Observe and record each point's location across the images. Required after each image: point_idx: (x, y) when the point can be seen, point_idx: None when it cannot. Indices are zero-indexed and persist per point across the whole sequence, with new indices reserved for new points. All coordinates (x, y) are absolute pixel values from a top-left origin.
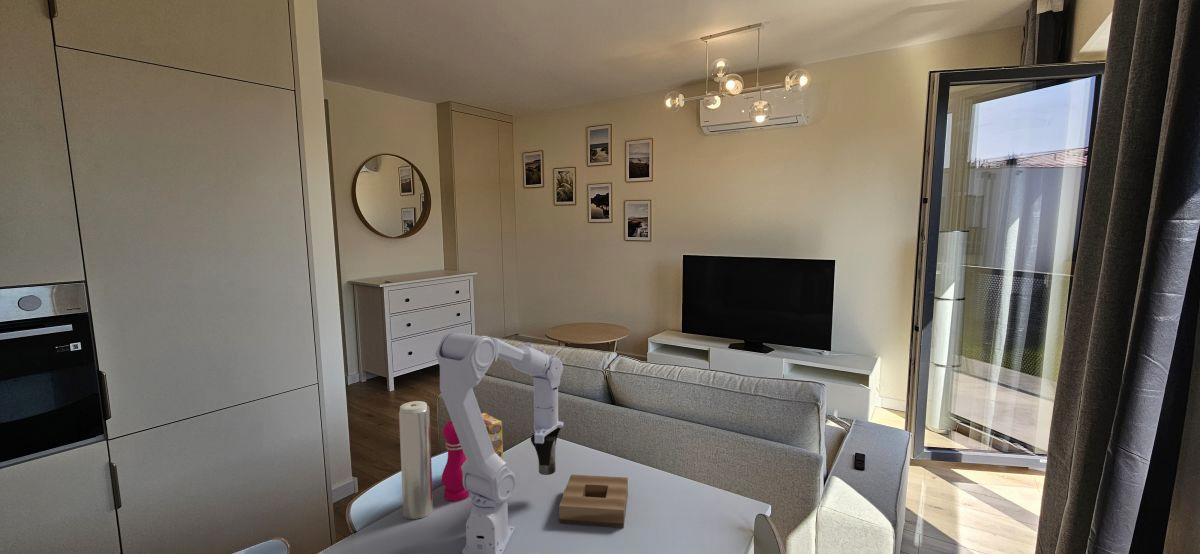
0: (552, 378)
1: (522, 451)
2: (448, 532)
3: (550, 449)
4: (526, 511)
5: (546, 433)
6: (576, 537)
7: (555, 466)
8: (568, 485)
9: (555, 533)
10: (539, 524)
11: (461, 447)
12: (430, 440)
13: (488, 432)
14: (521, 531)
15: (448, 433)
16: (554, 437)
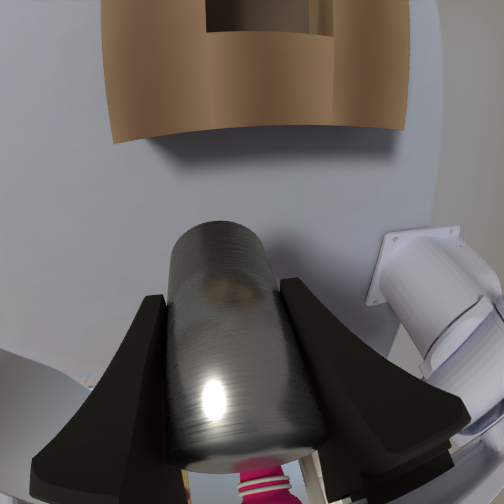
0: None
1: (14, 344)
2: (371, 333)
3: (389, 361)
4: (303, 233)
5: (497, 480)
6: (420, 61)
7: (201, 237)
8: (234, 118)
9: (407, 121)
10: (368, 175)
11: (280, 479)
12: (325, 502)
13: (188, 492)
14: (393, 213)
15: None
16: (412, 454)
